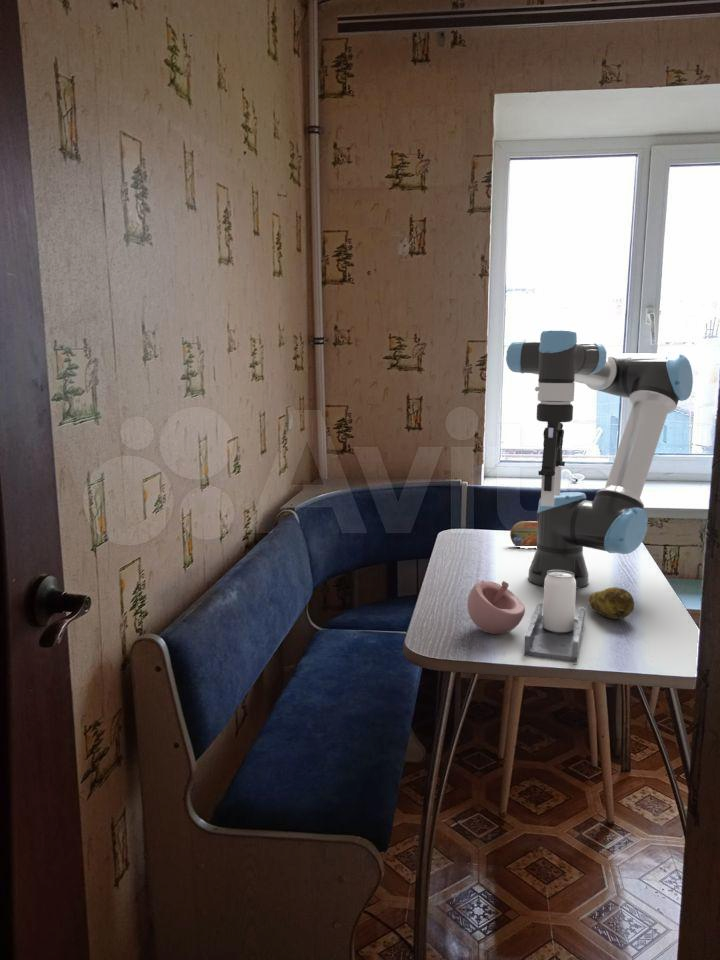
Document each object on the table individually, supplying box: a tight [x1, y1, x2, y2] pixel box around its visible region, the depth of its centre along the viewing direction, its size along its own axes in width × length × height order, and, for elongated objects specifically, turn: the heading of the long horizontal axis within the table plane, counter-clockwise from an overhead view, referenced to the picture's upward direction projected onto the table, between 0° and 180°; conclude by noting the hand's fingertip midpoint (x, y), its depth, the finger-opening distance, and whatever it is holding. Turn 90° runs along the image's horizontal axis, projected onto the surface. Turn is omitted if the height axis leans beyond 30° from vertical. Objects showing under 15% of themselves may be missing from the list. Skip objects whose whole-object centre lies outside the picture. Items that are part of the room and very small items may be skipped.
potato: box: [588, 587, 635, 620], centre depth 170 cm, size 8×13×8 cm, turn 174°
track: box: [523, 601, 586, 663], centre depth 158 cm, size 22×10×4 cm, turn 160°
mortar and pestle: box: [466, 580, 526, 635], centre depth 161 cm, size 12×12×12 cm
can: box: [542, 570, 577, 633], centre depth 161 cm, size 6×6×12 cm
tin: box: [509, 520, 538, 547], centre depth 233 cm, size 15×3×8 cm, turn 88°
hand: (550, 500), depth 167 cm, fingers open, 13 cm apart
